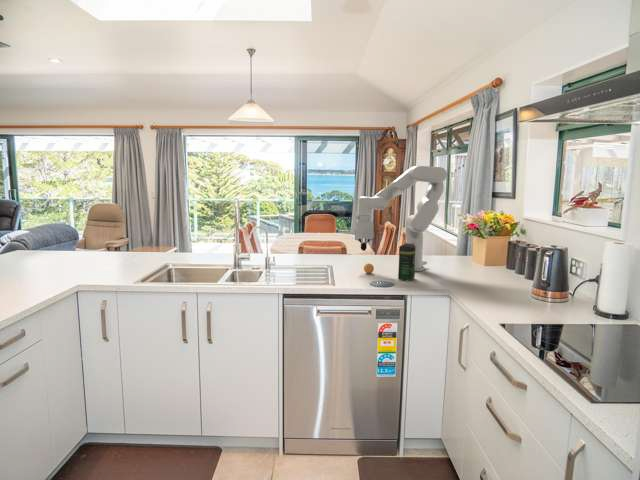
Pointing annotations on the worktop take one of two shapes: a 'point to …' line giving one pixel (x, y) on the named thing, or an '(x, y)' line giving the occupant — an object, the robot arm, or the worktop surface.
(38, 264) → the worktop surface
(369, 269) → the ball
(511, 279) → the worktop surface
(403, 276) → the coffee jar
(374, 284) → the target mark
